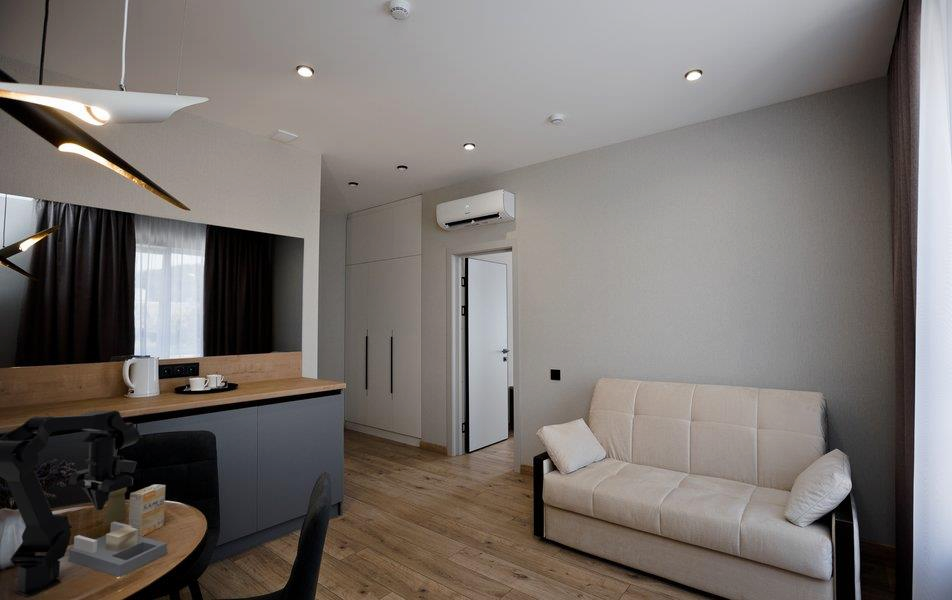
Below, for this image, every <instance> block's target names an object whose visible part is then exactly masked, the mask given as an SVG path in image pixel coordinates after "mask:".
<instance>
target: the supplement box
mask: <svg viewBox="0 0 952 600" xmlns="http://www.w3.org/2000/svg"><path fill="white" fill-rule="evenodd" d="M165 501H166V484H151V485H150V486H146V487H144V488H141V489H138V490H135V491H133V492H130V493H129V510H128V511H129V512H128V525H130V526H133V528H135V529H138V536H141V537H145V536H146V535H148V534H150V533H152V532H154V531H157V530H158V529H160V528H163V527H164V521H165V520H164V519H165V504H166V503H165Z"/></svg>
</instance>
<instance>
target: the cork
mask: <svg viewBox="0 0 952 600" xmlns="http://www.w3.org/2000/svg"><path fill="white" fill-rule="evenodd" d="M127 490H128V487H125V488H122V489H119V490H116V491H113V492H110V494H109V496H108V498H107V501H106V508H105V512H104V513H105V514H104V517H103V523H104V524H111V523H112V522H118V521H119V522H122V521H124V520H126V519H127V518H128V513H127V506H126V496H125V494H126V493H127ZM126 517H127V518H126ZM125 518H126V519H125Z"/></svg>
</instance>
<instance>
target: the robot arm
mask: <svg viewBox="0 0 952 600" xmlns="http://www.w3.org/2000/svg"><path fill="white" fill-rule="evenodd" d="M79 430H82V431H88V432H89V431H90V433H89V435H87V437H85V438H84V439H83V440H82V443H83V444H85V443H86V444H88V443H89V451H88V453H89V455H88V459H85V461H84V464H85V465H88V468H84V469H82V470H78V471H73V472H74V474H73V473H72V474H73V475H72V474H71V475H70V476H69V477H68V478H69V480H68V483H69V484H70V485H77V484H78V483H79V482H80V481H82V480H83V482H84V485H83V486H81V489H82V490H83V491H84V492H85V493H86V495H87V497H88V498H89V500H90V501H91V503H92V505H93V506H94V508H95V509H96V510H97V511H102V510H103V509H104V508H105V505H106V504H107V501H108V498H109V497H108V496H109V494H110V492H113V491H116V490H119V489H122V488H125V487H127V488H128V487H131V486H133V484H134V477H133V476H131V475H128V474H124V473H130V474H134V471H135V470H136V467H137V464H138V462H137V461H135V460H128V459H125V457H124V456H123V455H122V456H121V455H116V451H117V450H121V449H123V448H125V447H128V446H131V445H134V444H136V443H137V442H138V441H139V439H140V435H141V434H140V432H139V429H137V427H135V426H134V422H125V419H124V418H123V417H122V416H121V413H120V411H119V410H100V409H99V410H91V411H87V412H84V413H83V414H80V415H78V414H77V415H76V414H75V415H61V416H60V415H59V416H55V415H54V416H45V415H44V416H42V415H41V416H39V415H38V416H32V417H30V418H29V419H28V420H26V421H25V422H24V423H23V424H21V425H20V426H18V427H16V428H13V429H12V430H11V431H8V432H6V433H5V434H3V435H2V436H1V437H0V478H2V479H3V480H5V482H6V484H7V486H8V489H9V491H10V493H11V496H12V498H13V500H14V502H15V504H16V508H17V509H18V511H19V513H20V515H21V517H22V520H23V522H24V524H25V527H24V530H23V532H22V535H21V539H22V543H21V544H20V545H19V546H18V548H17V549H16V551H15V552H14V553H13V554H12V556H11V558H10V563H11V565H12V567H15V566H18V572H17V573H18V575H17V587H14V588H13V592H15V593H17V594H20V595H23V596H25V597H27V598H28V597H31V596H33V595H36V594H39V593H40V592H42V591H44V590H47V589H49V588H51V587H53V586H56V585H58V584H60V583H61V581H62V579H60V568H61V561H60V560H61V559H62V558H64V557H65V555H66V552H67V550H68V549H67V548H68V546H69V544H70V540H71V536H72V532H71V529H72V528H73V526H72V525H71V524H70V522H69V518H68V516H67V515H65V514H64V515H61V514H60V515H59V514H58V515H57V514H54V513H53V511H52V509H51V506H50V504H49V501H48V499H47V496H46V494H45V491H44V489H43V486H42V484H41V482H40V479H39V477H38V475H37V472H36V467H37V465H38V463H39V460H40V456H39V453H40V452H41V451H42V450H43V449H44V448H45V447H46V446H47V445H48V441H49V438H50V435H52V433H54V432H65V431H79ZM34 434H36V435H35V436H34V437H33V438H32V439H31V440H25V439H28V438H29V437H31V436H32V435H34ZM75 472H76V473H75ZM121 473H123V474H121Z"/></svg>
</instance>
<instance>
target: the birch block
mask: <svg viewBox="0 0 952 600" xmlns="http://www.w3.org/2000/svg"><path fill="white" fill-rule="evenodd" d="M105 535H106V549H107V550H111V551H114V552H120V551H122V550H124V549H127V548H129V547H131V546H133V545H136V544H137V537H138V529H135V528H131V527H127V526H125V527H123V528H120V529H118V530H115V531H113V532H108V533H106V534H105Z"/></svg>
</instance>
